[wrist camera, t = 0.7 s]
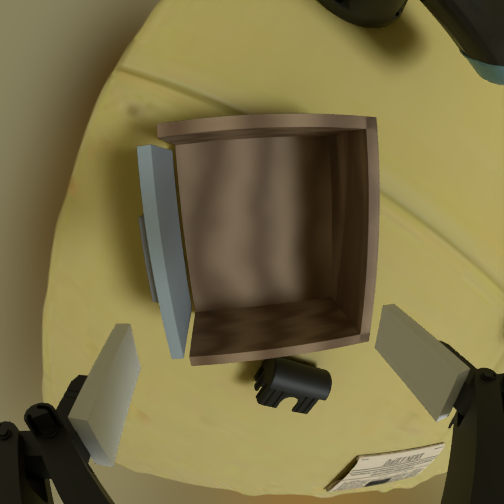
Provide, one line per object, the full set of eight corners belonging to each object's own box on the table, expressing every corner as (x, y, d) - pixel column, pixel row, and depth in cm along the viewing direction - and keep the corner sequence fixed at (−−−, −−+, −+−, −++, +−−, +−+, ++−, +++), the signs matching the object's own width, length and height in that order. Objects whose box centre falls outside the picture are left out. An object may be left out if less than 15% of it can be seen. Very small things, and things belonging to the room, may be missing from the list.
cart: (330, 120, 35) (375, 105, 23) (333, 304, 42) (367, 349, 31) (176, 127, 33) (156, 110, 22) (198, 320, 41) (193, 374, 29)
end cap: (323, 360, 45) (337, 386, 39) (302, 390, 47) (312, 417, 41) (270, 344, 43) (278, 371, 37) (250, 377, 45) (255, 406, 38)
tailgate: (172, 150, 32) (150, 144, 22) (191, 308, 38) (183, 358, 28) (155, 153, 32) (127, 148, 22) (176, 309, 38) (164, 359, 27)
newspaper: (324, 486, 61) (327, 494, 58) (360, 449, 57) (364, 457, 54) (412, 472, 68) (415, 478, 65) (446, 436, 63) (450, 442, 61)
